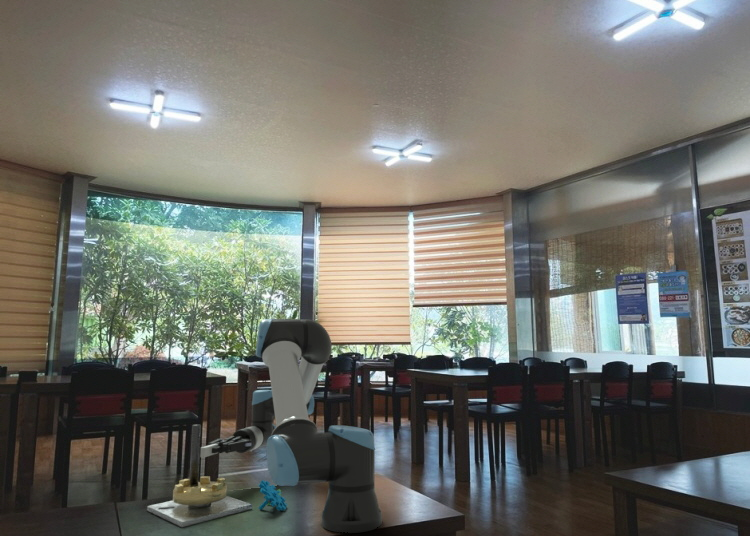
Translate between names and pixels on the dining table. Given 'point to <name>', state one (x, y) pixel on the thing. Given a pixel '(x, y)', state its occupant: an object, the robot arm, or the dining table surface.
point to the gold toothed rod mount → (191, 488)
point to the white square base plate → (197, 511)
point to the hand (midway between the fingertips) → (202, 452)
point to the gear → (272, 496)
